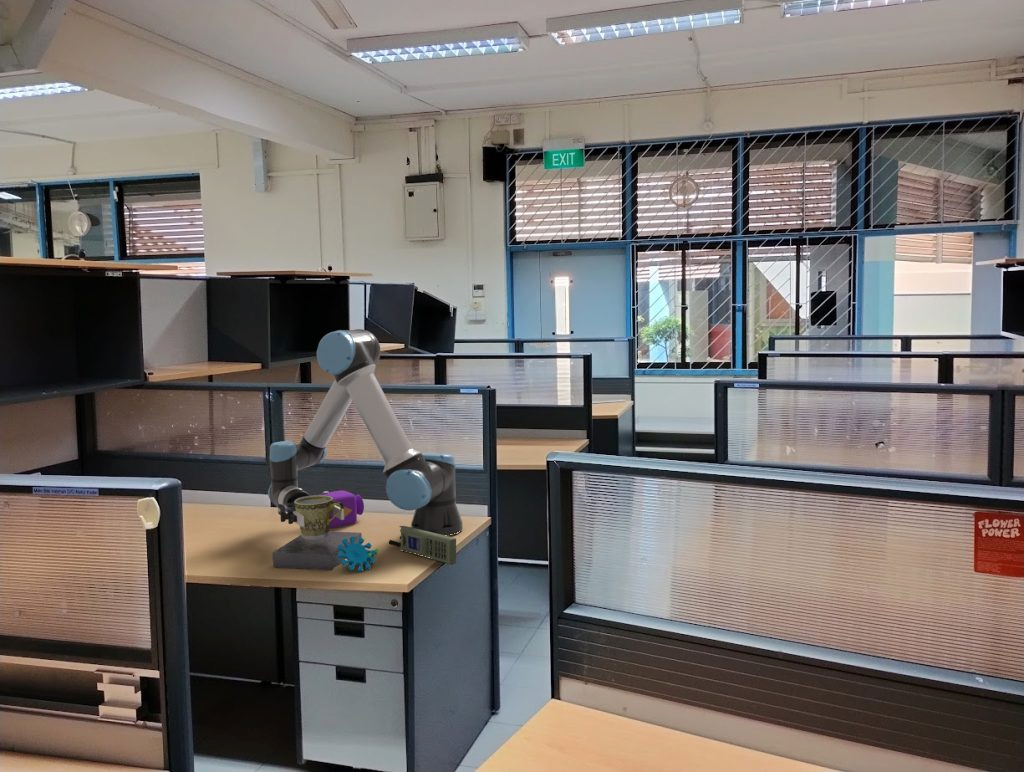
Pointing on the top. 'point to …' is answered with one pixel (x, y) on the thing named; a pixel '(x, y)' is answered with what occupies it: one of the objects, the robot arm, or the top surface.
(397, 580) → the top surface
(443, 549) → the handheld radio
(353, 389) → the robot arm
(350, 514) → the toy camera
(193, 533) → the top surface
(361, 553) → the gear
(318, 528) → the ceramic cup
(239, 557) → the top surface
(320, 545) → the stand
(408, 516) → the top surface
